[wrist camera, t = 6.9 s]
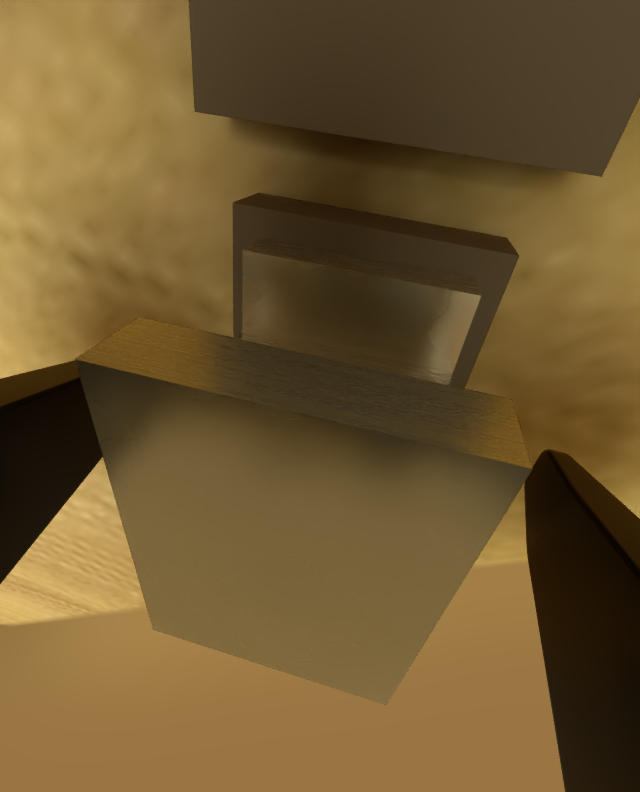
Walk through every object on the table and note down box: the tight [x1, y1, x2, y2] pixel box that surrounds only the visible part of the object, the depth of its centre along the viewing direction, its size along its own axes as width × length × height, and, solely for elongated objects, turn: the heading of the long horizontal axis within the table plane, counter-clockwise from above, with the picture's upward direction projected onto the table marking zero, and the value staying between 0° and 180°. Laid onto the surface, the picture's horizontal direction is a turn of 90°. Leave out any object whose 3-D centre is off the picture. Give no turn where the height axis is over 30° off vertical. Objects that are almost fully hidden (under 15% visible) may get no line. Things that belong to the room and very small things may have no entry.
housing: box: [75, 237, 532, 705], centre depth 8 cm, size 4×6×6 cm
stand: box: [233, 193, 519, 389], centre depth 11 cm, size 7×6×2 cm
